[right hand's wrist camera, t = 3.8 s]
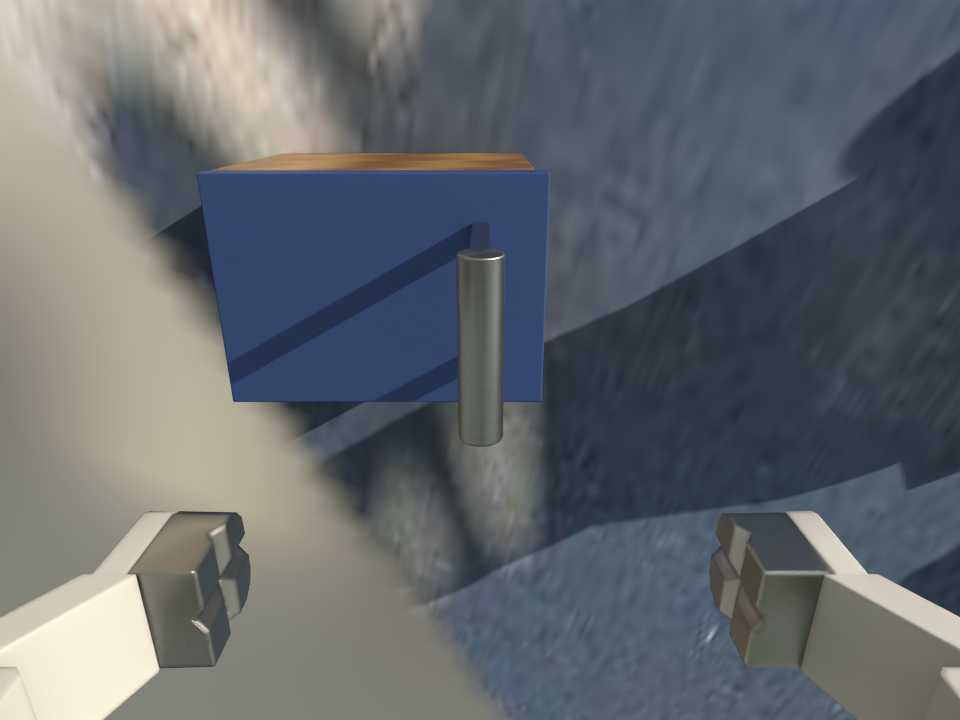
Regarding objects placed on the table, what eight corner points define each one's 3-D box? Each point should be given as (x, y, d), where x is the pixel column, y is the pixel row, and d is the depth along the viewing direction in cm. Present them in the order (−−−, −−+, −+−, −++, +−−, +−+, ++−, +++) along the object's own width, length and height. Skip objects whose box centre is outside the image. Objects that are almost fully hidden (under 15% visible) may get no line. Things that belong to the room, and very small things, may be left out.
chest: (521, 153, 34) (536, 169, 25) (518, 321, 38) (529, 389, 29) (282, 153, 34) (209, 169, 25) (301, 321, 38) (243, 389, 29)
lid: (547, 169, 25) (575, 196, 17) (539, 389, 29) (560, 492, 21) (209, 170, 25) (89, 197, 17) (243, 389, 29) (156, 492, 21)
